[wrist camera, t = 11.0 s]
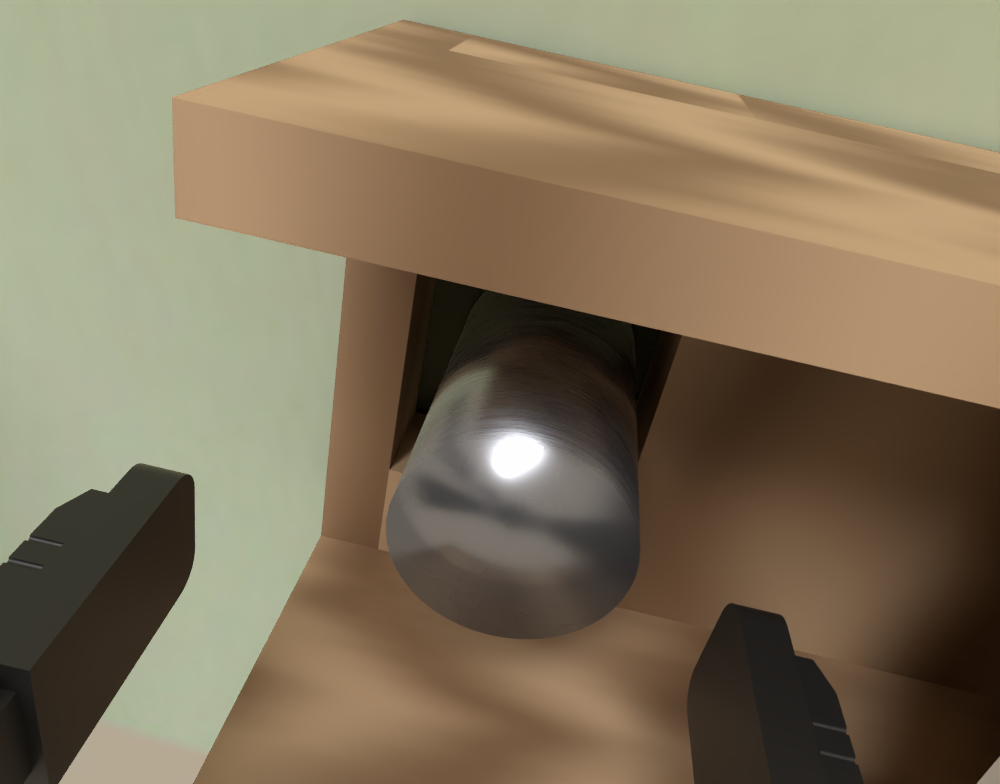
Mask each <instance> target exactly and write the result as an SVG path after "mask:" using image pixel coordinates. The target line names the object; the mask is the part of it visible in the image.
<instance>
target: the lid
mask: <svg viewBox="0 0 1000 784" xmlns="http://www.w3.org/2000/svg"><path fill="white" fill-rule="evenodd" d="M977 784H1000V757H999V758H998V759H997V760H996V761H995V763H994V764H993V765H992V766H991V767H990V768H989V770H988V771H987V772H986V773H985V774H984V776H983V777H982V778H981V779H980V780H979V782H978V783H977Z"/></svg>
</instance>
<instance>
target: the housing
mask: <svg viewBox="0 0 1000 784" xmlns="http://www.w3.org/2000/svg"><path fill="white" fill-rule="evenodd" d="M172 111H173V146H174V182H175V217H176V218H178V219H183V220H187V221H191V222H196V223H200V224H204V225H209V226H213V227H217V228H222V229H226V230H230V231H235V232H239V233H243V234H248V235H252V236H256V237H261V238H265V239H269V240H273V241H278V242H282V243H286V244H291V245H295V246H299V247H304V248H308V249H312V250H317V251H321V252H325V253H330V254H334V255H338V256H343V257H346V268H345V279H344V290H343V301H342V312H341V323H340V334H339V346H338V357H337V368H336V379H335V390H334V401H333V412H332V423H331V434H330V445H329V456H328V467H327V478H326V489H325V500H324V511H323V522H322V533H321V537H320V539H319V541H318V543H317V545H316V547H315V549H314V551H313V553H312V555H311V556H310V558H309V560H308V562H307V564H306V566H305V568H304V570H303V572H302V574H301V576H300V578H299V580H298V582H297V584H296V586H295V587H294V589H293V591H292V593H291V595H290V597H289V599H288V601H287V603H286V605H285V607H284V609H283V611H282V613H281V615H280V617H279V618H278V620H277V622H276V624H275V626H274V628H273V630H272V632H271V634H270V636H269V638H268V640H267V642H266V644H265V646H264V647H263V649H262V651H261V653H260V655H259V657H258V659H257V661H256V663H255V665H254V667H253V669H252V671H251V673H250V675H249V677H248V678H247V680H246V682H245V684H244V686H243V688H242V690H241V692H240V694H239V696H238V698H237V700H236V702H235V704H234V706H233V708H232V709H231V711H230V713H229V715H228V717H227V719H226V721H225V723H224V725H223V727H222V729H221V731H220V733H219V735H218V737H217V739H216V740H215V742H214V744H213V746H212V748H211V750H210V752H209V754H208V756H207V758H206V760H205V762H204V764H203V766H202V768H201V769H200V771H199V773H198V775H197V777H196V779H195V781H194V783H193V784H694V775H693V766H692V756H691V746H690V736H689V727H688V717H687V697H688V689H689V684H690V679H691V676H692V673H693V670H694V668H695V666H696V664H697V662H698V660H699V658H700V656H701V653H702V651H703V649H704V647H705V645H706V643H707V641H708V639H709V637H710V635H711V633H712V631H713V629H714V627H715V625H716V623H717V621H718V619H719V617H720V615H721V613H722V611H723V609H724V608H725V607H726V605H728V604H729V603H734V604H738V605H742V606H746V607H751V608H755V609H759V610H764V611H768V612H772V613H776V614H780V615H782V616H783V617H784V619H785V620H786V623H787V626H788V630H789V634H790V637H791V641H792V645H793V649H794V653H795V655H796V656H800V657H804V658H809V659H813V660H814V661H815V663H816V664H817V666H818V667H819V669H820V670H821V671H822V673H823V674H824V676H825V677H826V679H827V680H828V682H829V683H830V684H831V686H832V687H833V689H834V690H835V692H836V693H837V696H838V700H839V703H840V706H841V709H842V713H843V716H844V719H845V723H846V726H847V729H846V734H847V735H849V736H850V739H851V743H852V746H853V749H854V752H855V756H856V758H855V764H858V766H859V769H860V772H861V776H862V779H863V782H864V784H977V783H978V782H979V780H980V779H981V778H982V777H983V776H984V774H985V773H986V772H987V771H988V770H989V768H990V767H991V766H992V765H993V764H994V763H995V761H996V760H997V759H998V758H999V757H1000V153H999V152H994V151H990V150H985V149H981V148H977V147H972V146H968V145H963V144H959V143H954V142H950V141H945V140H941V139H936V138H932V137H927V136H923V135H918V134H914V133H909V132H905V131H900V130H896V129H891V128H887V127H882V126H878V125H873V124H869V123H864V122H860V121H855V120H851V119H846V118H842V117H837V116H833V115H828V114H824V113H819V112H815V111H810V110H806V109H801V108H797V107H792V106H788V105H784V104H779V103H775V102H770V101H766V100H761V99H757V98H752V97H748V96H743V95H739V94H734V93H730V92H725V91H721V90H716V89H712V88H707V87H703V86H698V85H694V84H689V83H685V82H680V81H676V80H671V79H667V78H662V77H658V76H653V75H649V74H644V73H640V72H635V71H631V70H626V69H622V68H617V67H613V66H608V65H604V64H599V63H595V62H591V61H586V60H582V59H577V58H573V57H568V56H564V55H559V54H555V53H550V52H546V51H541V50H537V49H532V48H528V47H523V46H519V45H514V44H510V43H505V42H501V41H496V40H492V39H487V38H483V37H478V36H474V35H469V34H465V33H460V32H456V31H451V30H447V29H442V28H438V27H433V26H429V25H424V24H420V23H415V22H411V21H406V20H402V21H399V22H396V23H393V24H390V25H387V26H384V27H381V28H378V29H375V30H372V31H369V32H366V33H363V34H360V35H357V36H354V37H351V38H348V39H345V40H342V41H339V42H336V43H333V44H330V45H327V46H324V47H321V48H318V49H315V50H312V51H309V52H306V53H303V54H300V55H297V56H294V57H291V58H288V59H285V60H282V61H279V62H276V63H273V64H270V65H267V66H264V67H261V68H258V69H255V70H252V71H249V72H246V73H243V74H240V75H237V76H234V77H231V78H228V79H225V80H222V81H219V82H216V83H213V84H210V85H207V86H204V87H201V88H198V89H195V90H192V91H189V92H186V93H183V94H180V95H177V96H174V97H172ZM436 278H438V279H442V280H446V281H451V282H455V283H459V284H464V285H468V286H472V287H477V288H481V289H485V290H489V291H494V292H498V293H502V294H507V295H511V296H515V297H520V298H524V299H528V300H533V301H537V302H541V303H546V304H550V305H554V306H559V307H563V308H567V309H572V310H576V311H580V312H585V313H589V314H593V315H597V316H602V317H606V318H610V319H615V320H619V321H623V322H628V323H632V324H636V325H641V326H645V327H649V328H654V329H658V330H661V331H660V334H659V337H658V340H657V343H656V346H655V349H654V352H653V355H652V358H651V361H650V364H649V367H648V370H647V373H646V376H645V380H644V383H643V386H642V389H641V392H640V395H639V398H638V401H637V404H636V405H637V442H638V479H639V517H640V560H639V567H638V570H637V574H636V577H635V579H634V581H633V583H632V586H631V588H630V589H629V591H628V592H627V594H626V595H625V597H624V598H623V600H622V601H621V602H620V603H619V604H618V605H617V606H616V607H615V608H614V609H613V610H612V611H610V612H609V613H608V614H607V615H605V616H604V617H603V618H601V619H599V620H598V621H596V622H594V623H593V624H591V625H589V626H587V627H584V628H582V629H580V630H578V631H574V632H571V633H568V634H565V635H560V636H555V637H550V638H541V639H513V638H503V637H498V636H492V635H488V634H484V633H481V632H477V631H474V630H471V629H469V628H466V627H463V626H461V625H459V624H457V623H455V622H453V621H451V620H449V619H447V618H445V617H443V616H442V615H440V614H439V613H437V612H436V611H434V610H433V609H431V608H430V607H429V606H428V605H426V604H425V603H424V602H423V601H421V600H420V599H419V598H418V597H417V596H416V595H415V594H414V593H413V592H412V591H411V589H410V588H409V587H408V586H407V584H406V583H405V582H404V581H403V579H402V578H401V576H400V574H399V573H398V571H397V569H396V568H395V565H394V563H393V561H392V558H391V556H390V553H389V549H388V545H387V539H386V517H387V513H388V509H389V505H390V502H391V500H392V498H393V495H394V493H395V490H396V488H397V486H398V483H399V481H400V478H401V476H402V474H403V471H404V469H405V467H406V464H407V462H408V459H409V457H410V455H411V452H412V450H413V447H414V445H415V443H416V440H417V438H418V436H419V433H420V431H421V428H422V426H423V424H424V421H425V419H426V416H427V415H424V414H420V413H416V412H415V411H416V404H417V398H418V391H419V385H420V378H421V372H422V366H423V359H424V353H425V346H426V340H427V333H428V327H429V321H430V314H431V308H432V301H433V295H434V288H435V282H436Z"/></svg>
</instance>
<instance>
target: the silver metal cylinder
mask: <svg viewBox="0 0 1000 784" xmlns="http://www.w3.org/2000/svg"><path fill="white" fill-rule="evenodd" d="M386 539H387V545H388V549H389V553H390V556H391V558H392V561H393V563H394V565H395V568H396V569H397V571H398V573H399V574H400V576H401V578H402V579H403V581H404V582H405V583H406V584H407V586H408V587H409V588H410V589H411V591H412V592H413V593H414V594H415V595H416V596H417V597H418V598H419V599H420V600H421V601H423V602H424V603H425V604H426V605H428V606H429V607H430V608H431V609H433V610H434V611H436V612H437V613H439V614H440V615H442V616H443V617H445V618H447V619H449V620H451V621H453V622H455V623H457V624H459V625H461V626H463V627H466V628H469V629H471V630H474V631H477V632H481V633H484V634H488V635H492V636H498V637H503V638H513V639H541V638H550V637H555V636H560V635H565V634H568V633H571V632H574V631H578V630H580V629H582V628H584V627H587V626H589V625H591V624H593V623H594V622H596V621H598V620H599V619H601V618H603V617H604V616H605V615H607V614H608V613H609V612H610V611H612V610H613V609H614V608H615V607H616V606H617V605H618V604H619V603H620V602H621V601H622V600H623V598H624V597H625V595H626V594H627V592H628V591H629V589H630V588H631V586H632V583H633V581H634V579H635V577H636V574H637V570H638V567H639V560H640V517H639V479H638V442H637V405H636V367H635V340H634V334H633V329H632V326H631V323H628V322H623V321H619V320H615V319H610V318H606V317H602V316H597V315H593V314H589V313H585V312H580V311H576V310H572V309H567V308H563V307H559V306H554V305H550V304H546V303H541V302H537V301H533V300H528V299H524V298H520V297H515V296H511V295H507V294H502V293H498V292H494V291H489V290H486V291H485V292H484V293H483V294H482V295H481V296H480V298H479V299H478V300H477V301H476V303H475V305H474V306H473V308H472V310H471V312H470V314H469V316H468V319H467V321H466V324H465V326H464V328H463V331H462V333H461V335H460V338H459V340H458V343H457V345H456V347H455V350H454V352H453V355H452V357H451V359H450V362H449V364H448V366H447V369H446V371H445V374H444V376H443V378H442V381H441V383H440V385H439V388H438V390H437V393H436V395H435V397H434V400H433V402H432V405H431V407H430V409H429V412H428V414H427V416H426V419H425V421H424V424H423V426H422V428H421V431H420V433H419V436H418V438H417V440H416V443H415V445H414V447H413V450H412V452H411V455H410V457H409V459H408V462H407V464H406V467H405V469H404V471H403V474H402V476H401V478H400V481H399V483H398V486H397V488H396V490H395V493H394V495H393V498H392V500H391V502H390V505H389V509H388V513H387V517H386Z"/></svg>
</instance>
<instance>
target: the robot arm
mask: <svg viewBox="0 0 1000 784" xmlns="http://www.w3.org/2000/svg"><path fill="white" fill-rule="evenodd" d="M194 554H195V493H194V480H193V478H192V476H191V475H189V474H184V473H180V472H176V471H172V470H167V469H163V468H159V467H154V466H150V465H146V464H142V463H141V464H136V465H135V466H133V467H132V468H131V469H130V470H129V471H128V472H127V473H126V474H125V476H124V477H123V478H122V479H121V480H120V481H119V482H118V483H117V485H116V486H115V487H114V488H113V489H112V490H111V491H110V492H109V493H106V492H102V491H97V490H93V489H91V490H89V491H87V492H85V493H83V494H81V495H80V496H78V497H76V498H74V499H72V500H70V501H69V502H67V503H65V504H63V505H61V506H59V507H57V508H56V509H55V510H54V511H53V512H52V513H51V514H50V515H49V516H48V517H47V518H46V519H45V520H44V521H43V522H42V523H41V524H40V525H39V526H38V527H37V528H36V529H35V530H34V531H33V532H32V533H31V535H30V538H29V540H28V541H26V540H25V541H24V542H23V543H22V544H21V545H20V546H19V547H18V548H17V549H16V550H15V551H14V552H13V553H12V554H11V555H10V556H9V560H8V562H7V563H3V564H2V565H1V566H0V784H58V783H59V782H60V780H61V779H62V777H63V775H64V774H65V772H66V771H67V769H68V768H69V766H70V765H71V763H72V762H73V760H74V758H75V757H76V755H77V754H78V752H79V751H80V749H81V748H82V746H83V745H84V743H85V741H86V740H87V738H88V737H89V735H90V734H91V732H92V731H93V729H94V728H95V726H96V724H97V723H98V721H99V720H100V718H101V717H102V715H103V714H104V712H105V710H106V709H107V707H108V706H109V704H110V703H111V701H112V700H113V698H114V697H115V695H116V693H117V692H118V690H119V689H120V687H121V686H122V684H123V683H124V681H125V680H126V678H127V676H128V675H129V673H130V672H131V670H132V669H133V667H134V666H135V664H136V663H137V661H138V659H139V658H140V656H141V655H142V653H143V652H144V650H145V649H146V647H147V645H148V644H149V642H150V641H151V639H152V638H153V636H154V635H155V633H156V632H157V630H158V628H159V627H160V625H161V624H162V622H163V621H164V619H165V618H166V616H167V615H168V613H169V611H170V610H171V608H172V607H173V605H174V604H175V602H176V601H177V599H178V598H179V596H180V594H181V593H182V591H183V589H184V587H185V585H186V583H187V581H188V578H189V575H190V572H191V569H192V565H193V561H194ZM687 717H688V727H689V736H690V746H691V756H692V766H693V775H694V784H864V782H863V779H862V776H861V772H860V769H859V766H858V764H855V758H856V756H855V752H854V749H853V746H852V743H851V739H850V736H849V735H847V734H846V729H847V726H846V723H845V719H844V716H843V713H842V709H841V706H840V703H839V700H838V696H837V693H836V692H835V690H834V689H833V687H832V686H831V684H830V683H829V682H828V680H827V679H826V677H825V676H824V674H823V673H822V671H821V670H820V669H819V667H818V666H817V664H816V663H815V661H814V660H813V659H809V658H804V657H800V656H796V655H795V653H794V649H793V645H792V641H791V637H790V634H789V630H788V626H787V623H786V620H785V619H784V617H783V616H782V615H780V614H776V613H772V612H768V611H764V610H759V609H755V608H751V607H746V606H742V605H738V604H734V603H729V604H728V605H726V607H725V608H724V609H723V611H722V613H721V615H720V617H719V619H718V621H717V623H716V625H715V627H714V629H713V631H712V633H711V635H710V637H709V639H708V641H707V643H706V645H705V647H704V649H703V651H702V653H701V656H700V658H699V660H698V662H697V664H696V666H695V668H694V670H693V673H692V676H691V679H690V684H689V689H688V697H687Z"/></svg>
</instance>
